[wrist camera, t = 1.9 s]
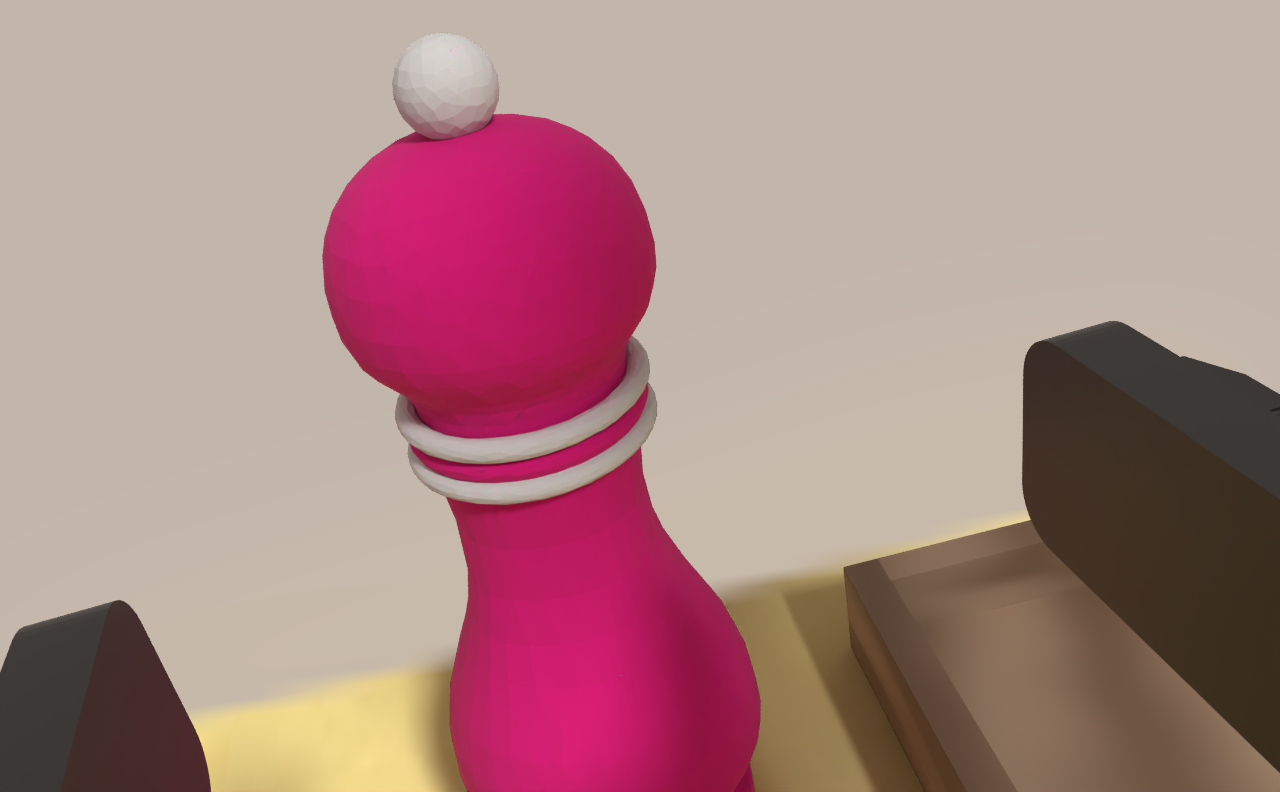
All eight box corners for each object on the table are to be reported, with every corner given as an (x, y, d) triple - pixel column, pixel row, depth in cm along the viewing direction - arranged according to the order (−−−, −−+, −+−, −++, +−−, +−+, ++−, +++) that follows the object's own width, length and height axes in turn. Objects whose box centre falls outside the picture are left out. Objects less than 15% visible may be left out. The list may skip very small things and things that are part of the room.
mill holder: (1232, 548, 33) (1242, 466, 32) (1603, 890, 23) (1645, 793, 21) (851, 646, 32) (843, 567, 31) (1055, 1048, 22) (1058, 958, 20)
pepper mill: (512, 739, 31) (282, 26, 21) (763, 707, 31) (646, -40, 21) (482, 983, 25) (138, 137, 15) (797, 948, 25) (652, 46, 15)
